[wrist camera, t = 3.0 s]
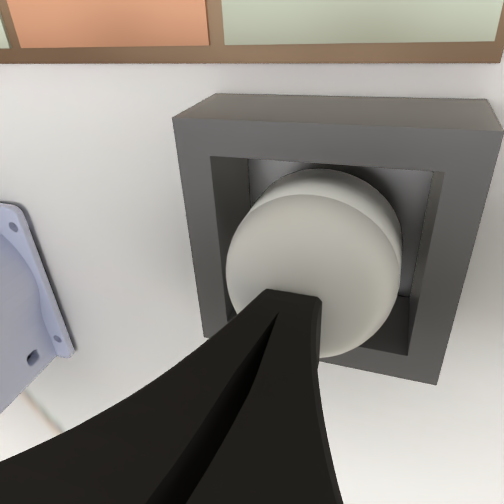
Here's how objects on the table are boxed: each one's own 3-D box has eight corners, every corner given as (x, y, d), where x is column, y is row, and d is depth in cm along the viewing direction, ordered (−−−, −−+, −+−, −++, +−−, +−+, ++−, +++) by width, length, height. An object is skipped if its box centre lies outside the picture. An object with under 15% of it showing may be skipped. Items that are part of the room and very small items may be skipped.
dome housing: (434, 323, 16) (436, 385, 13) (232, 289, 18) (203, 337, 16) (487, 99, 11) (504, 131, 9) (214, 93, 14) (172, 117, 11)
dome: (392, 300, 14) (382, 416, 11) (259, 279, 16) (207, 374, 12) (414, 166, 12) (411, 254, 8) (252, 155, 13) (185, 226, 10)
